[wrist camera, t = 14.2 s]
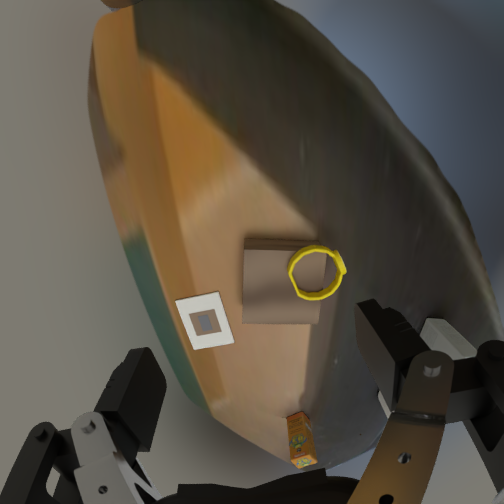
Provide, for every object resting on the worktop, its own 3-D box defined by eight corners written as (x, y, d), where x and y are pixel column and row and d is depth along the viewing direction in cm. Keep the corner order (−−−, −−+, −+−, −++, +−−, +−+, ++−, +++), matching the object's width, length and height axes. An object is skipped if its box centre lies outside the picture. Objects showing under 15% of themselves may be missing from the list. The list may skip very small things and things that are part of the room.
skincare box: (431, 348, 42) (466, 391, 31) (411, 348, 42) (445, 395, 30) (444, 316, 41) (485, 356, 29) (425, 315, 40) (465, 358, 29)
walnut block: (244, 237, 37) (244, 249, 32) (317, 240, 37) (326, 251, 32) (243, 304, 39) (242, 323, 35) (310, 305, 40) (317, 323, 35)
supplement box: (302, 409, 45) (311, 454, 36) (310, 419, 46) (319, 463, 37) (284, 416, 46) (290, 461, 36) (292, 426, 47) (299, 470, 37)
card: (175, 300, 39) (174, 301, 38) (218, 291, 39) (218, 292, 38) (194, 348, 41) (193, 350, 41) (234, 341, 41) (234, 343, 40)
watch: (280, 266, 30) (333, 239, 29) (278, 257, 33) (327, 232, 32) (305, 311, 32) (354, 286, 31) (301, 299, 35) (347, 276, 34)
